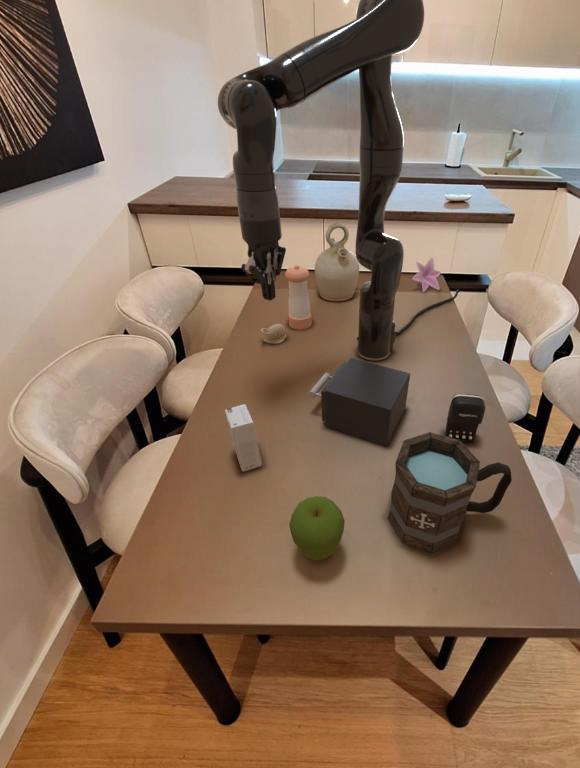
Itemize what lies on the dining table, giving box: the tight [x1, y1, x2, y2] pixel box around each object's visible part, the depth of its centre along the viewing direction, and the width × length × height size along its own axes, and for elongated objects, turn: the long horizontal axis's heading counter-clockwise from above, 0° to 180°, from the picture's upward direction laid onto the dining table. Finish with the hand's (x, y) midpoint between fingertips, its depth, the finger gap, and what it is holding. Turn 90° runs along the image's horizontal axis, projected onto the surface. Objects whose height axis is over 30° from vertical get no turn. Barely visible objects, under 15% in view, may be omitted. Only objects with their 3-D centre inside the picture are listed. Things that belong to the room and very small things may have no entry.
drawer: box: [308, 360, 348, 423], centre depth 91 cm, size 18×12×9 cm
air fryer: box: [325, 357, 411, 447], centre depth 90 cm, size 15×14×11 cm
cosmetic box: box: [224, 403, 263, 472], centre depth 78 cm, size 6×4×12 cm
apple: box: [288, 495, 345, 561], centre depth 63 cm, size 9×8×12 cm
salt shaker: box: [284, 264, 313, 331], centre depth 120 cm, size 7×7×19 cm
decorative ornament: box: [260, 323, 287, 345], centre depth 117 cm, size 4×8×5 cm, turn 129°
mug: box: [387, 431, 513, 554], centre depth 68 cm, size 20×14×15 cm
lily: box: [411, 257, 442, 293], centre depth 149 cm, size 12×12×10 cm
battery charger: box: [443, 393, 486, 443], centre depth 85 cm, size 7×4×11 cm, turn 83°
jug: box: [314, 222, 360, 302], centre depth 136 cm, size 15×16×25 cm
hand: (269, 298), depth 85 cm, fingers closed
